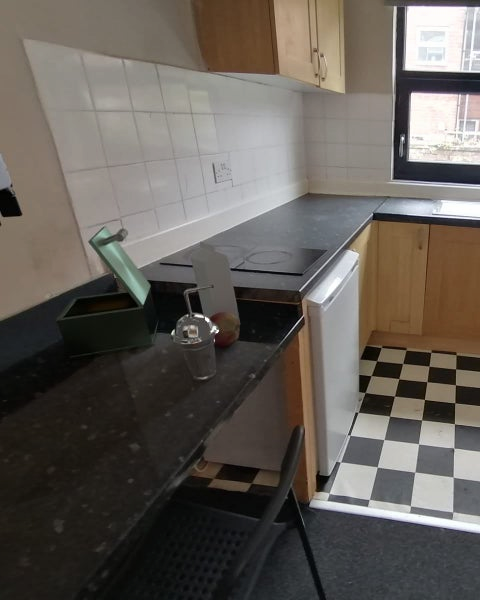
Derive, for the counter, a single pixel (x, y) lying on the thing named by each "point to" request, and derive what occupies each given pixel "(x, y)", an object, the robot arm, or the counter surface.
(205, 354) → the cup with straw
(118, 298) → the dark green storage bin
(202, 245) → the milk
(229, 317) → the fruit
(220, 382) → the counter surface
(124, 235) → the bin lid
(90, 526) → the counter surface
